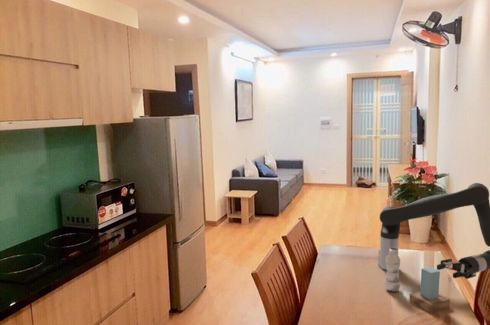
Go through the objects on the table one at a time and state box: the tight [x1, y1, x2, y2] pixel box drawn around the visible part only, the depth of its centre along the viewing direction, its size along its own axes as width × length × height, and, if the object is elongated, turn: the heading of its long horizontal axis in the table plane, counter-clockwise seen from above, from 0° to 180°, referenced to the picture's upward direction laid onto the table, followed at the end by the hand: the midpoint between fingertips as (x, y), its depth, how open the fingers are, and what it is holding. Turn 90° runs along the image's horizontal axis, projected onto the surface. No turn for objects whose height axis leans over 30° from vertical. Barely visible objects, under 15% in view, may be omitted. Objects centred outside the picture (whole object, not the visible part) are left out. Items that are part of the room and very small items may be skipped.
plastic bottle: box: [384, 248, 401, 293], centre depth 176 cm, size 6×7×20 cm
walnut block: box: [409, 290, 450, 314], centre depth 162 cm, size 11×11×4 cm
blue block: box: [419, 266, 441, 300], centre depth 162 cm, size 5×5×12 cm
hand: (445, 271), depth 167 cm, fingers open, 8 cm apart
